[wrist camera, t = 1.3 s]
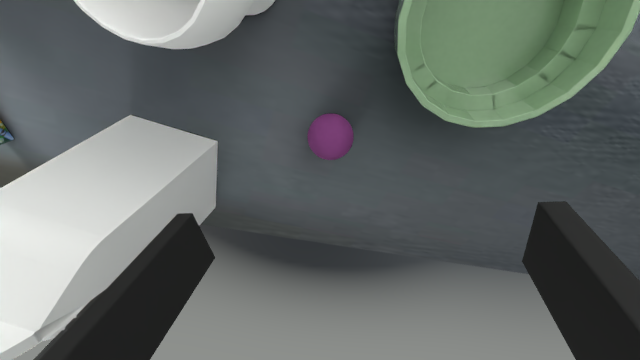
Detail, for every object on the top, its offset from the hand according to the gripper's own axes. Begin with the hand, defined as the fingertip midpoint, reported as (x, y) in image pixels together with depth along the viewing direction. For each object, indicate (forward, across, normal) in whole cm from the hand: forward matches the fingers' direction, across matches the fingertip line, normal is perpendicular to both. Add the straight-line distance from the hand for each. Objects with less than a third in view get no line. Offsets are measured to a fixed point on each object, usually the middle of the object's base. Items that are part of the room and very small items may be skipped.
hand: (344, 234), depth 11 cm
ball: (+22, -4, -4) cm, 23 cm away
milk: (+22, -27, -7) cm, 36 cm away
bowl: (+22, +11, +5) cm, 25 cm away
